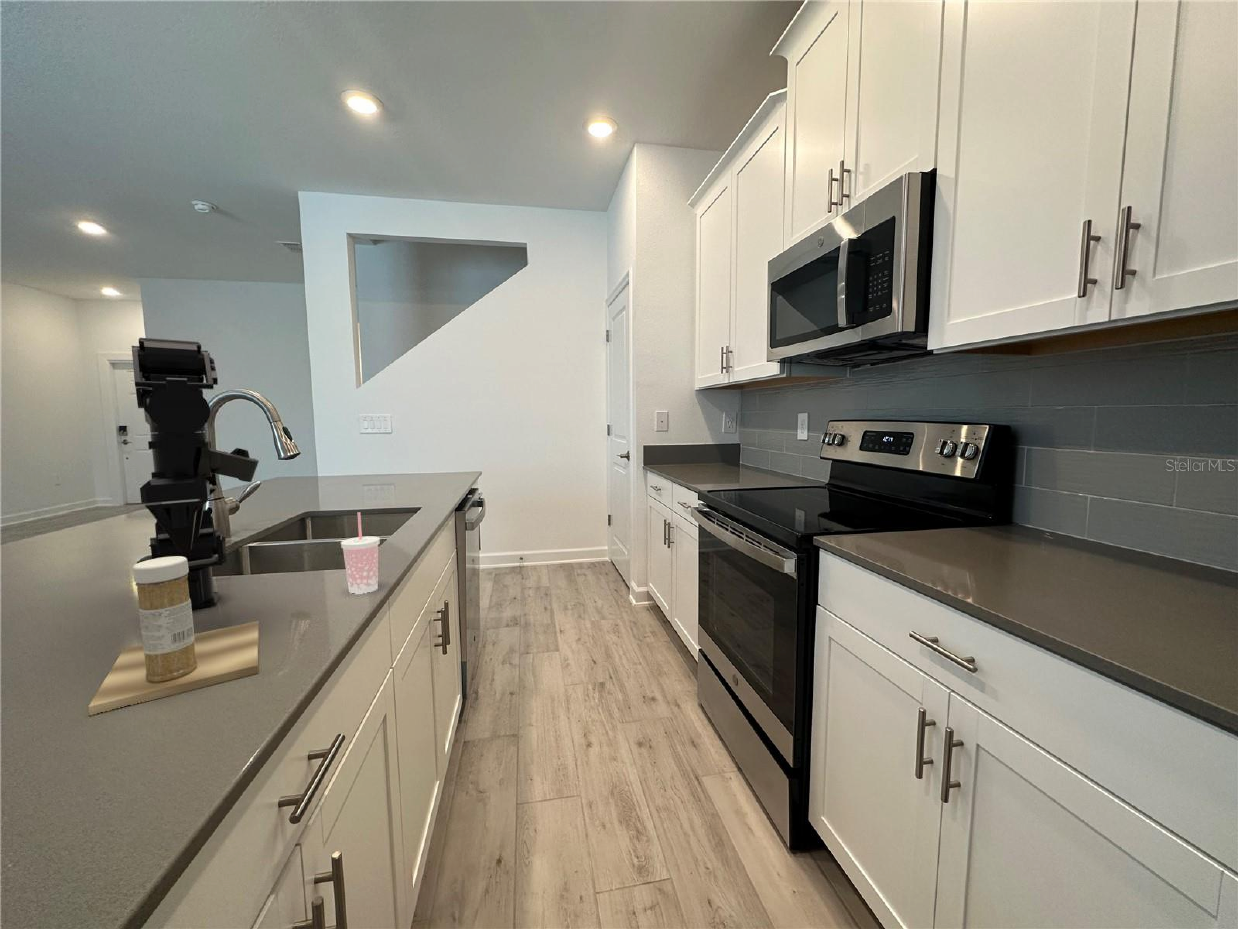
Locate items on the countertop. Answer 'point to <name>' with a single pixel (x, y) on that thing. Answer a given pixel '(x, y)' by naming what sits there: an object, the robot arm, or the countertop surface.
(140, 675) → the oak board
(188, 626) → the sprinkles bottle
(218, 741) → the countertop surface
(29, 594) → the countertop surface
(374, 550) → the beverage cup
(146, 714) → the countertop surface
